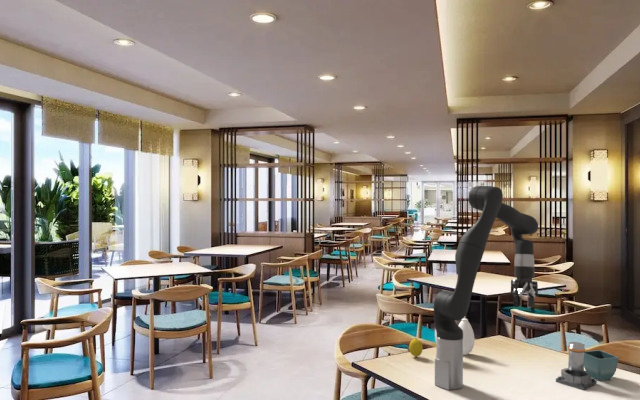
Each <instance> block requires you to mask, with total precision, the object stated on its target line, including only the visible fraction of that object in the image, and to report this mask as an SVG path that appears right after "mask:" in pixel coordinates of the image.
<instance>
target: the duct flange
mask: <svg viewBox="0 0 640 400" xmlns="http://www.w3.org/2000/svg"><path fill="white" fill-rule="evenodd" d="M555 382H556V383H558V384H562V385H565V386H569V387H571V388H572V387H573V388H575V389H579V390H582V391H586V390H588V389H589V388H591V387H594V386H595V385H598V384H597V383H598V381H597V379H595V378H593V377H592V376H591V374H590V373H589V372H587V371H586V370H584V376H574V375H570V374H568V367H567V368H566V367H565V368H562V369H561V371H560V376H557V377H556V378H555Z"/></svg>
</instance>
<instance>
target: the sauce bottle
mask: <svg viewBox="0 0 640 400" xmlns="http://www.w3.org/2000/svg"><path fill="white" fill-rule="evenodd" d="M457 325H458V326H459V327H460V328H461V329H462V330H463V356H468V355H469V354H470V353H472V351H473V349H474V346H475V333H474V330H473V327H472V325H471V323H470V322H469V319H468V318H466V316H465V317H464V318H463V319H461V320H460V322H459V324H457Z"/></svg>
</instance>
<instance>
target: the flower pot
mask: <svg viewBox="0 0 640 400" xmlns="http://www.w3.org/2000/svg"><path fill="white" fill-rule="evenodd" d="M618 362H619V357H618V356H616V355H614V354H611V353H609V352H606V351H603V350H601V349H600V350H599V349H597V350H589V351H588V350H587V351H586V350H585V352H584V371H587V372H589V373H590V374H591V376H592V378H594V379H595V380H596V381H597V380H598V381H600V382H601V381H607V380H608V379H609V380H611V379H613V377H614V375H615V374H616V373H617V372H616V371H617V368H618Z"/></svg>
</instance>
